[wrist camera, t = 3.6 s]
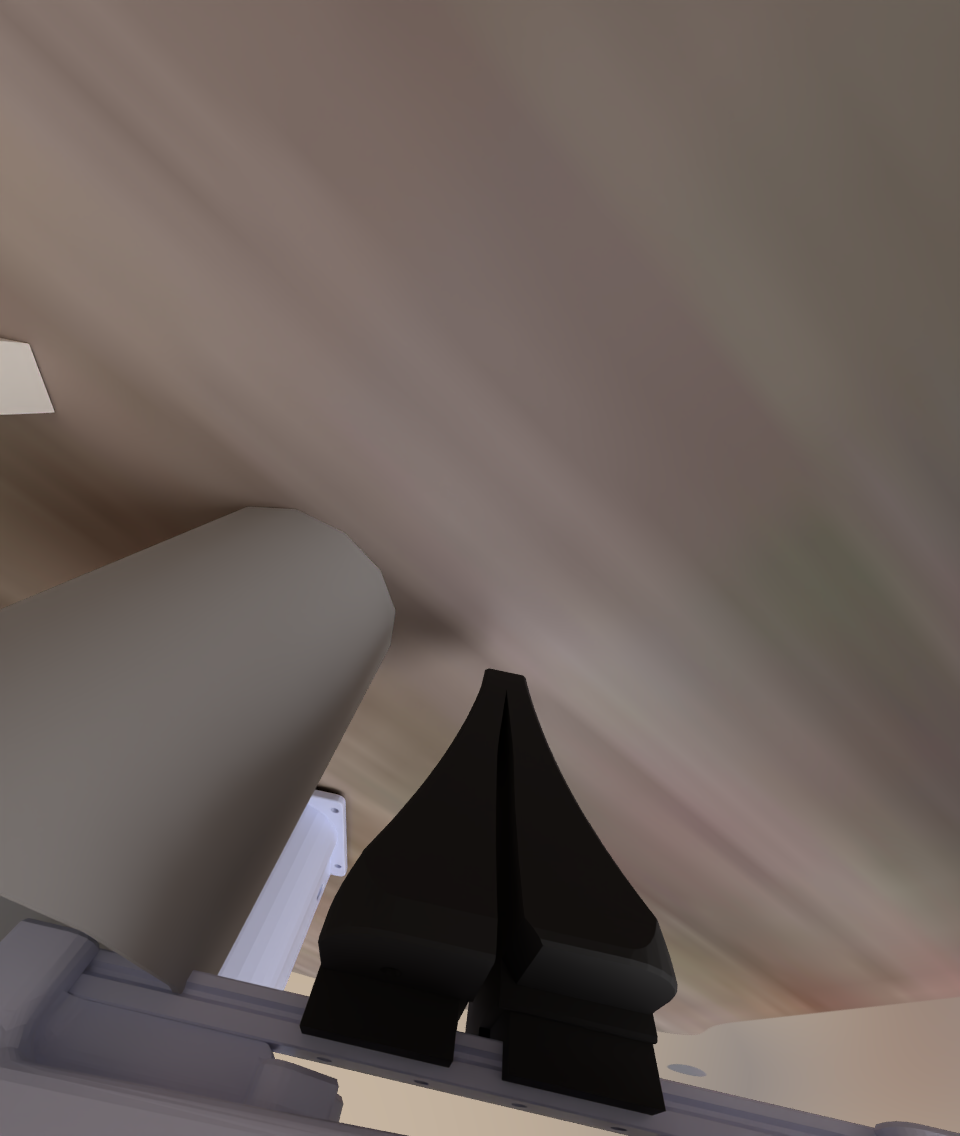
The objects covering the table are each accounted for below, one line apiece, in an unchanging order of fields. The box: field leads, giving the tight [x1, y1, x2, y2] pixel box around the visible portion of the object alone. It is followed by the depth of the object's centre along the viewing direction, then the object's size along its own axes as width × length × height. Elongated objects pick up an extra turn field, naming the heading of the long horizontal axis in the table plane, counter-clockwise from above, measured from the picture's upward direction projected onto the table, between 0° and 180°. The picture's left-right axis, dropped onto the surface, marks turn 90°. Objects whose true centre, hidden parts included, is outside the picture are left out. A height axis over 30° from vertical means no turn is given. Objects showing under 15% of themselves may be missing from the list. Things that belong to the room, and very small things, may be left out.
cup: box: [0, 507, 396, 994], centre depth 10 cm, size 8×8×10 cm
